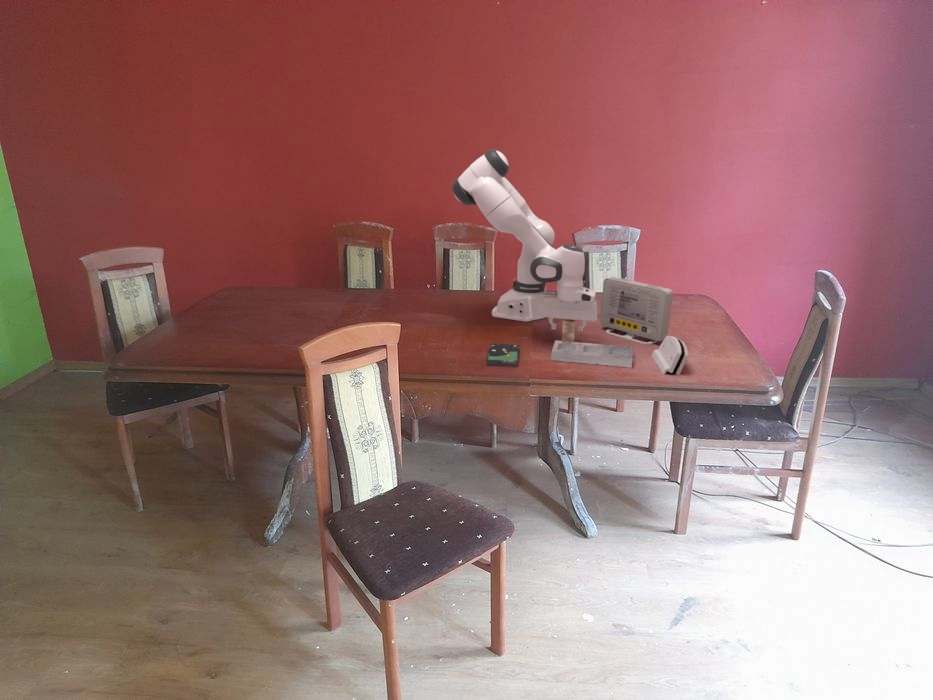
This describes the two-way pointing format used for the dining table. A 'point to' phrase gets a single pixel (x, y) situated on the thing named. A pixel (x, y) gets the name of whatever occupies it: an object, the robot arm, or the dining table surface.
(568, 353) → the grey flat frame
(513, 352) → the disk drive
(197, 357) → the dining table surface
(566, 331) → the maple block
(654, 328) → the network device
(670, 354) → the white rounded block
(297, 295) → the dining table surface
